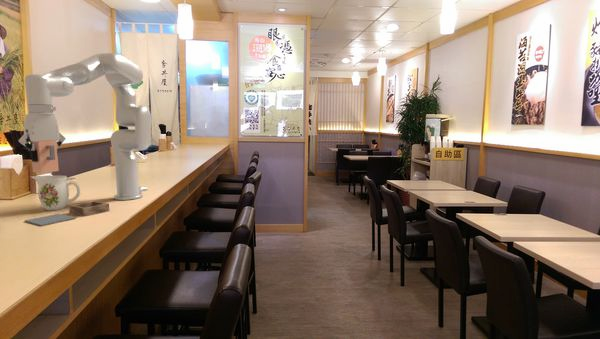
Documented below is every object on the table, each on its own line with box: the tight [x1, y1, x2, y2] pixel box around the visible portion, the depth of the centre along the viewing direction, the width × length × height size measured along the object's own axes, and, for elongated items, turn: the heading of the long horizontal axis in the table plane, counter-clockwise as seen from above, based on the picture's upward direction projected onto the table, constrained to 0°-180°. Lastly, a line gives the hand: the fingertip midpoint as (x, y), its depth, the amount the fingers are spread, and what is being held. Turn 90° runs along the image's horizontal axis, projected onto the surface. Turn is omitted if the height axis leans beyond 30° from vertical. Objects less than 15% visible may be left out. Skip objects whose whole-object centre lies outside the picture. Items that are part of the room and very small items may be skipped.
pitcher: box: [30, 174, 81, 211], centre depth 171 cm, size 11×18×14 cm, turn 102°
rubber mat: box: [24, 213, 77, 227], centre depth 152 cm, size 12×12×1 cm
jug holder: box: [68, 200, 110, 217], centre depth 165 cm, size 10×10×3 cm
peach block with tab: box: [31, 141, 60, 174], centre depth 148 cm, size 6×9×11 cm, turn 58°
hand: (44, 160), depth 149 cm, fingers closed on peach block with tab, 6 cm apart
